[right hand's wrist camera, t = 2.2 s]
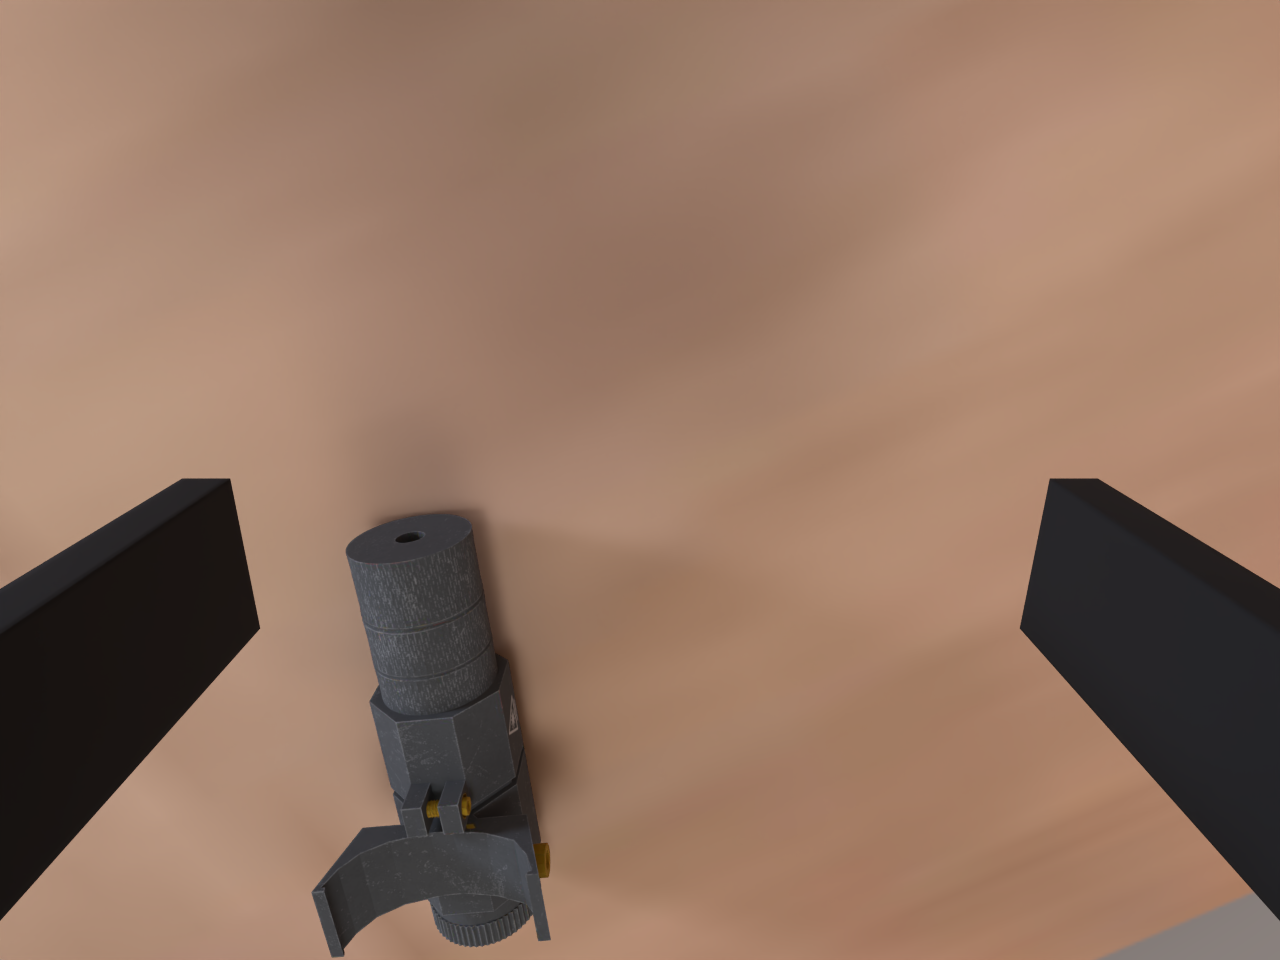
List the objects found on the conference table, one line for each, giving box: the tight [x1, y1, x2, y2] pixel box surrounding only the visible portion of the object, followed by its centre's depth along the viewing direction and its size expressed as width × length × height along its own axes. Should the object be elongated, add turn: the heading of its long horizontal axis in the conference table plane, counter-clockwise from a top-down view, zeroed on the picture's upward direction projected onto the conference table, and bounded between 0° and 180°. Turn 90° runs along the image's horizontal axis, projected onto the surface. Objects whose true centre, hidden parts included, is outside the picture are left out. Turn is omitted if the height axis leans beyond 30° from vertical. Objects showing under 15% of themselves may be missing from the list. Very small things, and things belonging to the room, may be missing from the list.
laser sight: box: [311, 514, 551, 957], centre depth 36 cm, size 10×22×10 cm, turn 6°
